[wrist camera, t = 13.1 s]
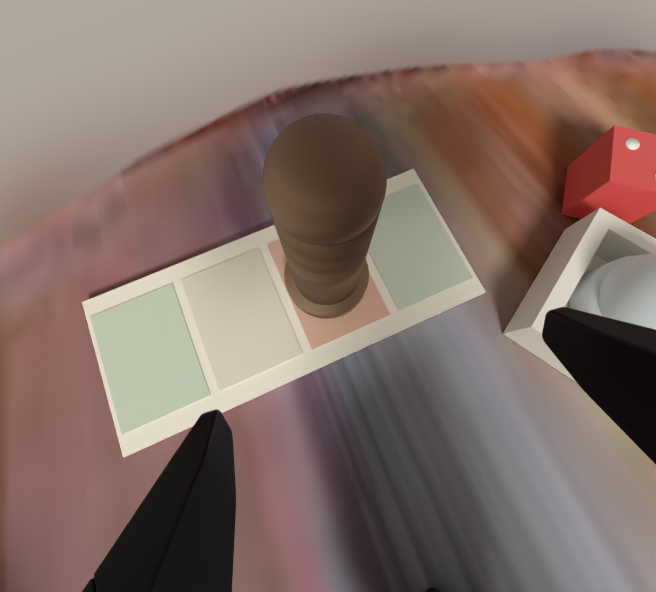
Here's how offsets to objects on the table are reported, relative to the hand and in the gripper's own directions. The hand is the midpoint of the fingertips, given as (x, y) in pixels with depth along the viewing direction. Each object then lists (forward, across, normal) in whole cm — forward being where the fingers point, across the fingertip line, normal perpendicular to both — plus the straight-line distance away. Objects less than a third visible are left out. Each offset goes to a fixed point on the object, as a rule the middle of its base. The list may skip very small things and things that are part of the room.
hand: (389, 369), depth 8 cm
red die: (+13, -20, +3) cm, 24 cm away
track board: (+12, +3, +4) cm, 14 cm away
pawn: (+12, 0, +4) cm, 13 cm away
